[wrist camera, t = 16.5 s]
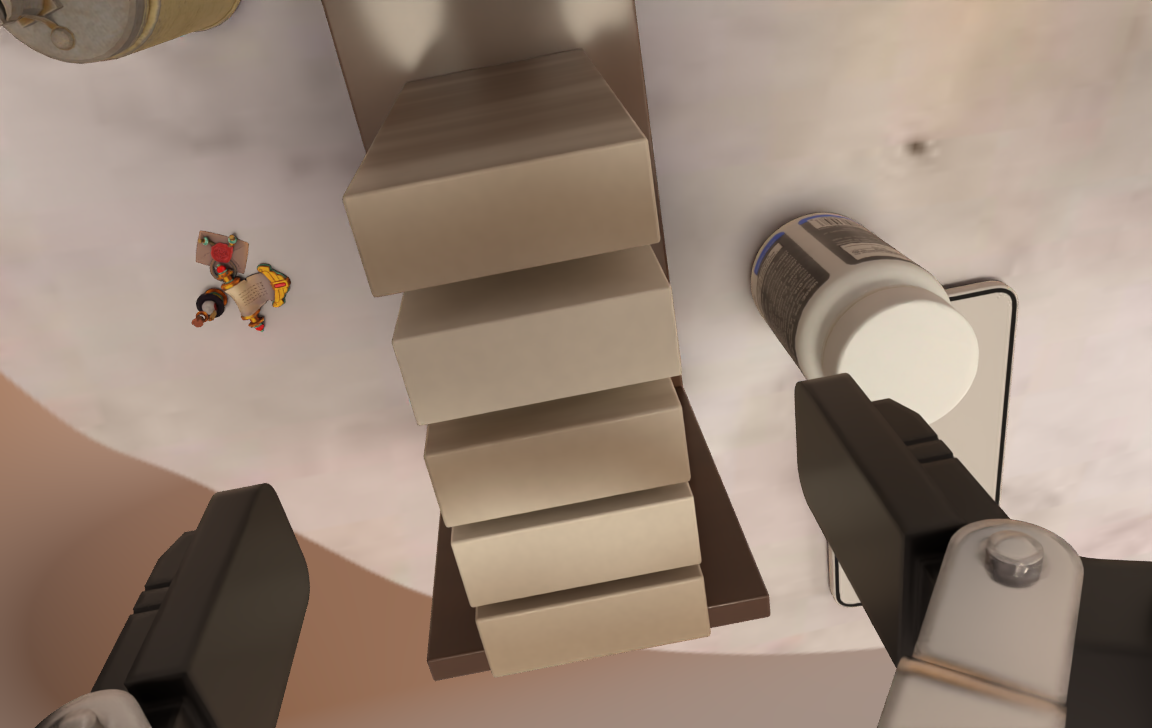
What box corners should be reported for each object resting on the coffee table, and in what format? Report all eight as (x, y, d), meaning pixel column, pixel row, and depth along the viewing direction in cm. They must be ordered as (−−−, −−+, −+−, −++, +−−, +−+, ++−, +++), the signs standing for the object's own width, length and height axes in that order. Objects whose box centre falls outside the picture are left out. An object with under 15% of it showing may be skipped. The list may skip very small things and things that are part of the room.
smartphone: (833, 612, 38) (823, 320, 30) (828, 601, 38) (817, 312, 31) (994, 580, 38) (1022, 280, 30) (986, 570, 38) (1012, 273, 31)
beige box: (431, 175, 26) (390, 341, 16) (600, 142, 26) (671, 286, 16) (446, 233, 27) (417, 427, 17) (609, 202, 27) (683, 375, 17)
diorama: (250, 342, 30) (233, 370, 28) (160, 272, 28) (137, 297, 26) (304, 288, 29) (291, 313, 27) (215, 214, 28) (194, 235, 26)
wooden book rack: (303, -85, 24) (126, -92, 12) (612, -144, 24) (723, -208, 12) (453, 434, 32) (431, 714, 21) (680, 390, 32) (783, 646, 21)
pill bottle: (789, 356, 32) (870, 475, 24) (724, 261, 30) (789, 356, 22) (900, 285, 31) (1021, 385, 23) (839, 182, 29) (949, 253, 21)
